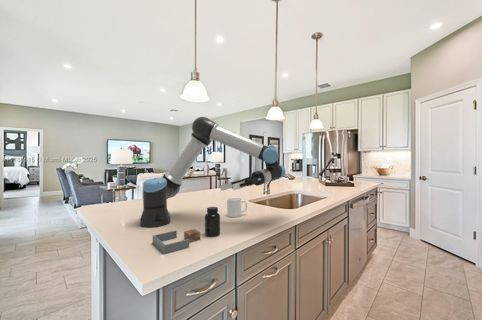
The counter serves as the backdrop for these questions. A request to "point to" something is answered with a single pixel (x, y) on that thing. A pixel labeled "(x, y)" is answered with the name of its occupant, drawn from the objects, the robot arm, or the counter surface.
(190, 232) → the brown wooden block
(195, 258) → the counter surface
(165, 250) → the grey u-shaped bracket
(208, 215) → the supplement bottle
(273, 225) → the counter surface
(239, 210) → the cup
